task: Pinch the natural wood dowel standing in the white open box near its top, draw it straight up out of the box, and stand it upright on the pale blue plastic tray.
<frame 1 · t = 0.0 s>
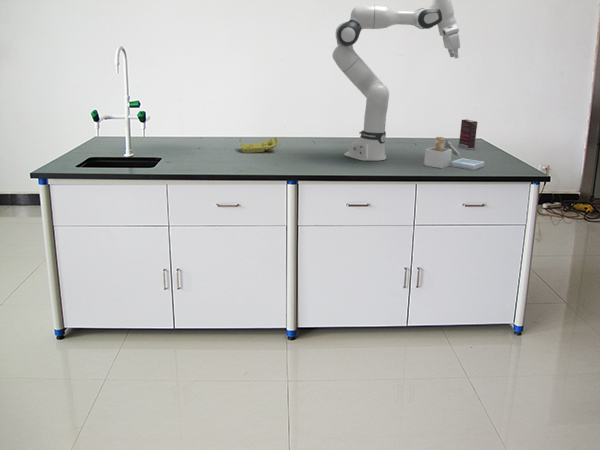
hand: (454, 57, 300), 52 cm above the countertop, tool tilted 20°, fingers open, 8 cm apart
dowel: (438, 151, 303), in the white open box
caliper: (452, 153, 337), on the countertop
plastic component: (259, 151, 326), on the countertop
white open box: (437, 165, 305), on the countertop
tray: (467, 166, 304), on the countertop
supplement box: (466, 148, 349), on the countertop
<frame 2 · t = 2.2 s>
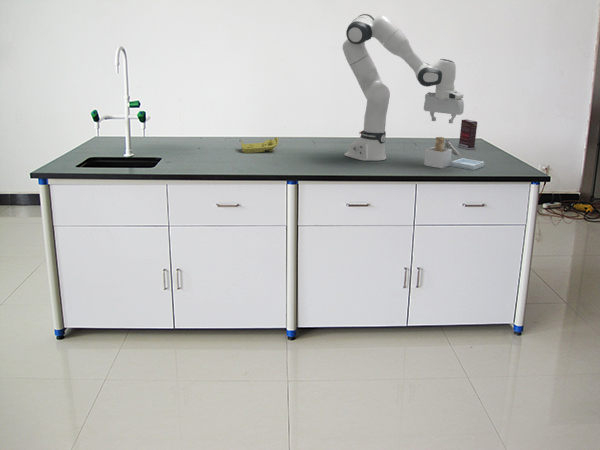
hand: (442, 122, 298), 22 cm above the countertop, tool pointing down, fingers open, 8 cm apart
nothing on the countertop moved.
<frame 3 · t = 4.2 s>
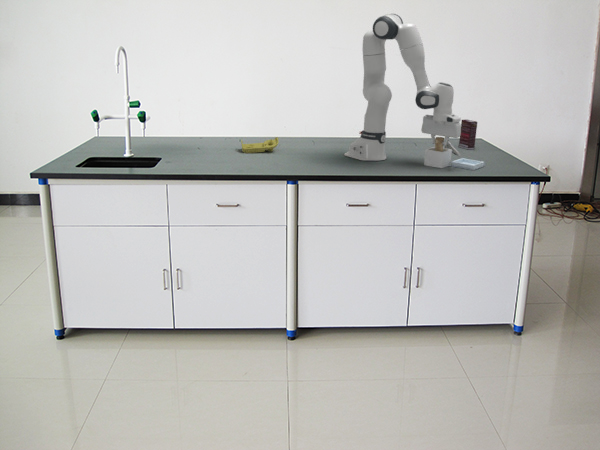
hand: (439, 144, 302), 11 cm above the countertop, tool pointing down, fingers closed on dowel, 4 cm apart
dowel: (438, 151, 303), in the white open box, touching gripper
everything else where it was.
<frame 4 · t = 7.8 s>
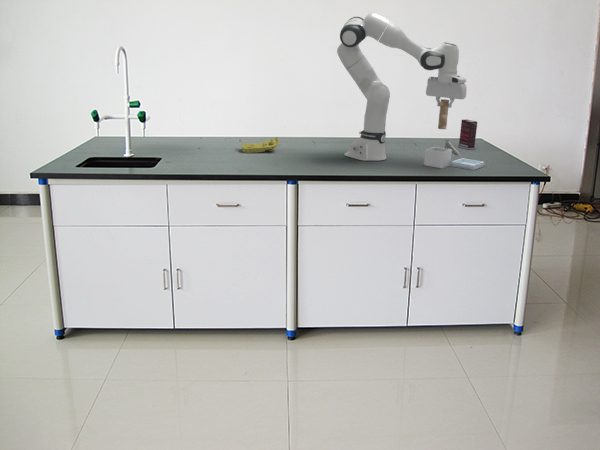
hand: (444, 106, 296), 29 cm above the countertop, tool pointing down, fingers closed on dowel, 4 cm apart
dowel: (443, 114, 297), point 26 cm above the countertop, touching gripper
everything else where it was.
when the fingers open (12 cm above the countertop, at t = 11.3 s): dowel stays where it is, resting on tray.
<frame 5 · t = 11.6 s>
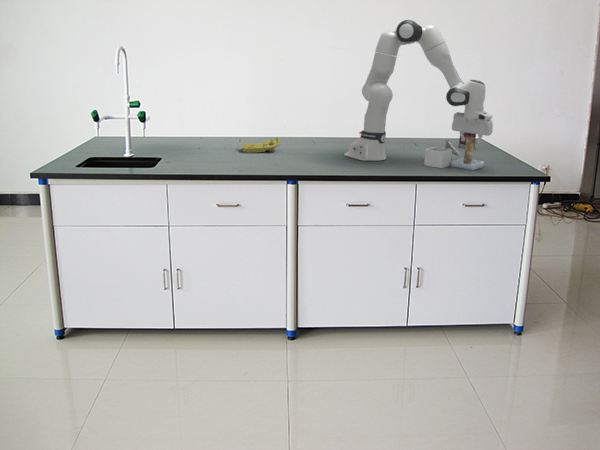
hand: (470, 142, 300), 12 cm above the countertop, tool pointing down, fingers open, 6 cm apart
dowel: (469, 151, 302), in the tray, point 8 cm above the countertop
everything else where it was.
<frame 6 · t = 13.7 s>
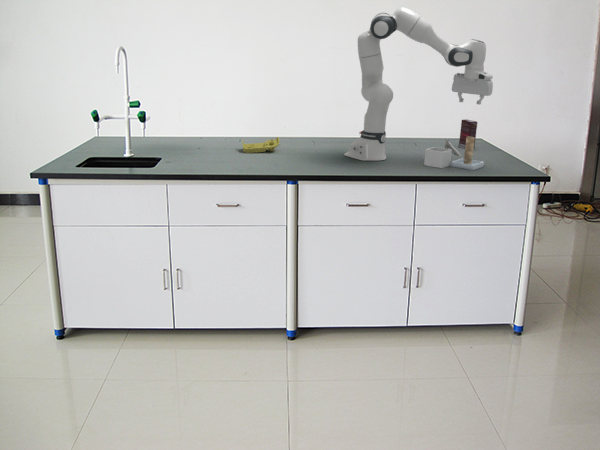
hand: (469, 103, 299), 31 cm above the countertop, tool pointing down, fingers open, 8 cm apart
nothing on the countertop moved.
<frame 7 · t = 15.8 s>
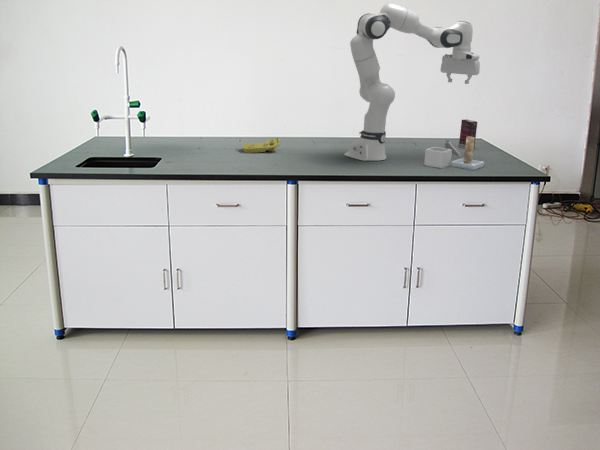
hand: (458, 83, 310), 39 cm above the countertop, tool pointing down, fingers open, 8 cm apart
nothing on the countertop moved.
at the end: dowel inside the target area on the tray (0.1 cm from its centre), point 7.8 cm above the tray's base; dowel tilted 1°; the gripper is holding nothing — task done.
